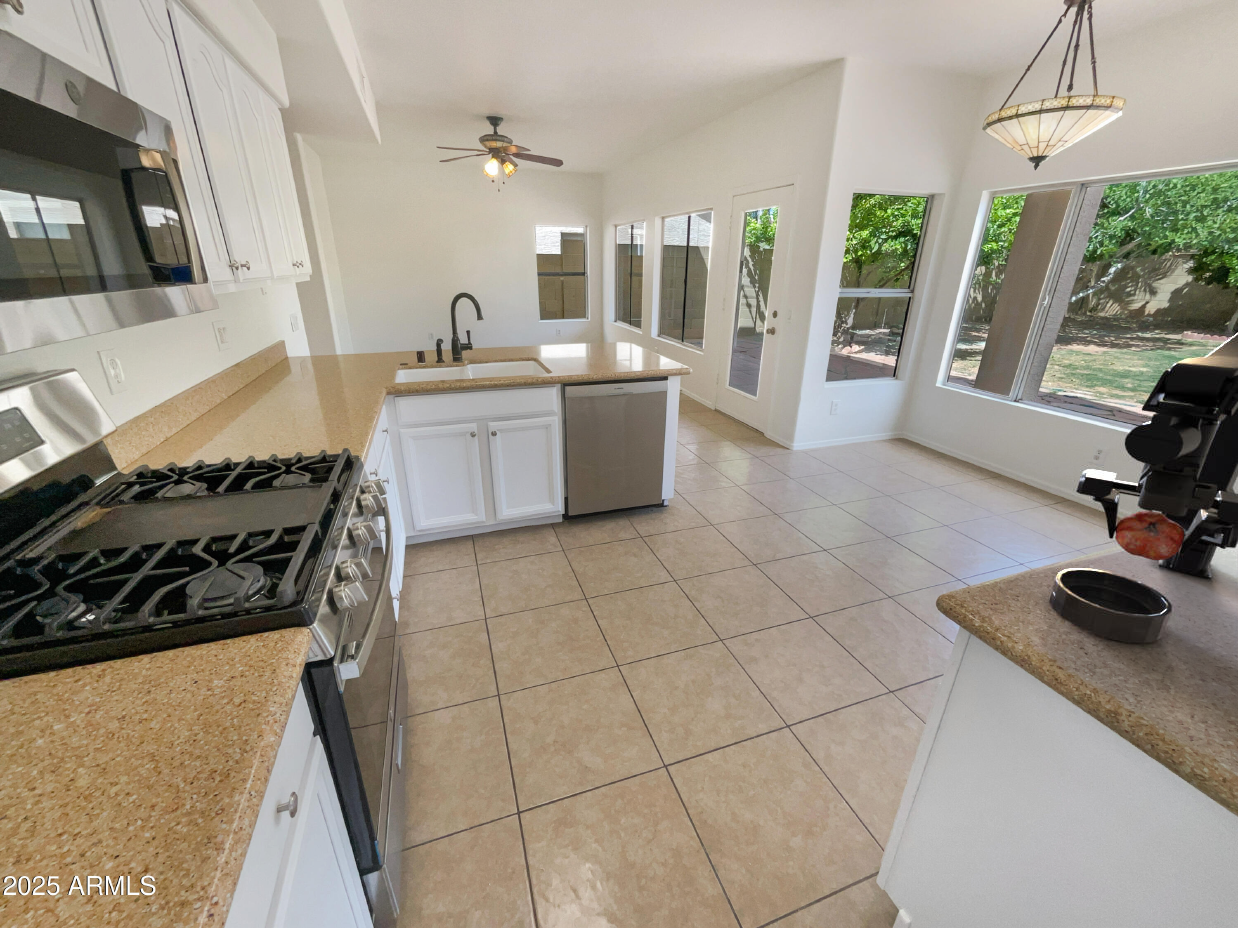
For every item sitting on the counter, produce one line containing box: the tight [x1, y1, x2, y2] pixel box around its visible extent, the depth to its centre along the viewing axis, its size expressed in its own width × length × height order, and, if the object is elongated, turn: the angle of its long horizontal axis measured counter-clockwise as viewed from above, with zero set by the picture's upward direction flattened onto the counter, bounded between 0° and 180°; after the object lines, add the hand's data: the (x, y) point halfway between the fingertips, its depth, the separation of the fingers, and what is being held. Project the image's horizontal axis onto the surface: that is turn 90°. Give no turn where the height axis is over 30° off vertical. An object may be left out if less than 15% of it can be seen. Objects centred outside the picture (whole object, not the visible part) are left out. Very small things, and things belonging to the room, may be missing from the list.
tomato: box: [1114, 510, 1185, 561], centre depth 79 cm, size 7×7×10 cm
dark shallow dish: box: [1048, 567, 1173, 644], centre depth 80 cm, size 13×13×5 cm
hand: (1144, 545), depth 79 cm, fingers closed on tomato, 7 cm apart
